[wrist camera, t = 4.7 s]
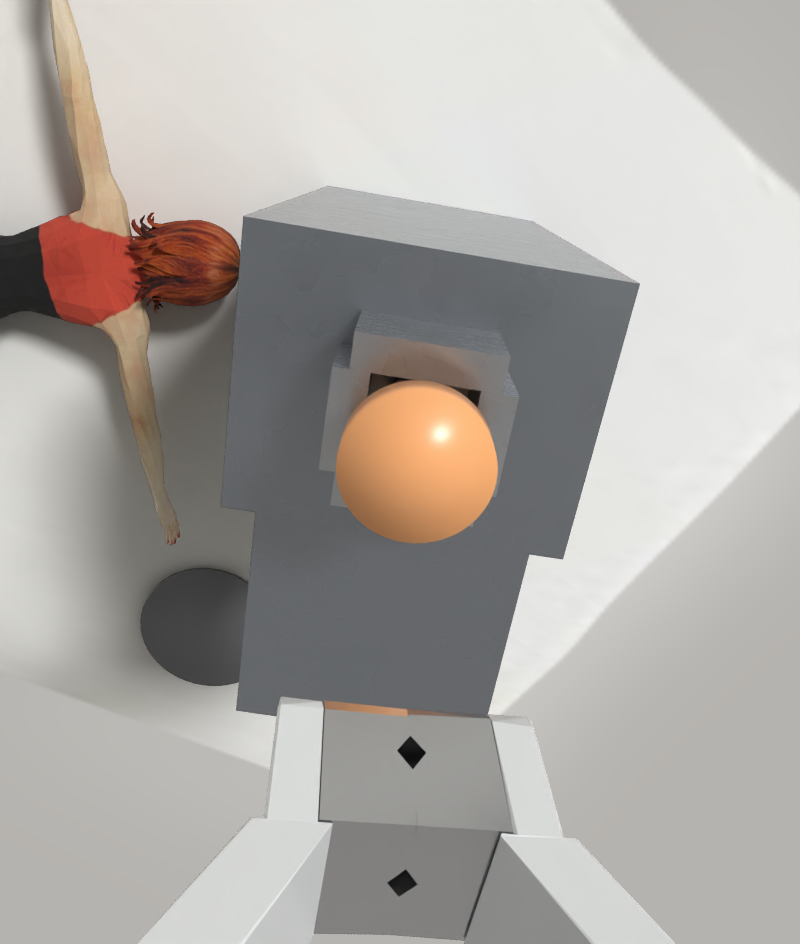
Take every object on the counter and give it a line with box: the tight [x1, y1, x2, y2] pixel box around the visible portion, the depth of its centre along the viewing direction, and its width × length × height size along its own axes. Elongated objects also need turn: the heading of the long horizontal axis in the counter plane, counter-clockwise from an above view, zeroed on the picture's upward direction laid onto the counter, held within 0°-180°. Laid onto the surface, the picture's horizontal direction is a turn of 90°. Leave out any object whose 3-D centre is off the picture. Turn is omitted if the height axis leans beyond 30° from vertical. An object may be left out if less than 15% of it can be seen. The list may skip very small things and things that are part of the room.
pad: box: [141, 568, 249, 686], centre depth 46 cm, size 8×8×1 cm
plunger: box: [336, 378, 498, 543], centre depth 18 cm, size 3×3×4 cm
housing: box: [221, 186, 640, 716], centre depth 30 cm, size 10×15×22 cm, turn 171°
